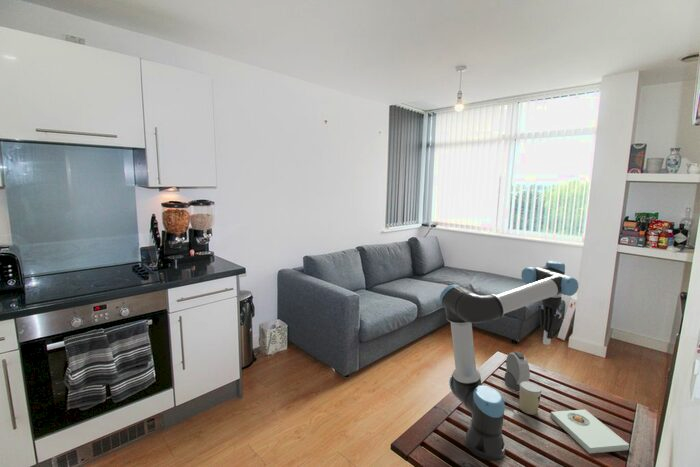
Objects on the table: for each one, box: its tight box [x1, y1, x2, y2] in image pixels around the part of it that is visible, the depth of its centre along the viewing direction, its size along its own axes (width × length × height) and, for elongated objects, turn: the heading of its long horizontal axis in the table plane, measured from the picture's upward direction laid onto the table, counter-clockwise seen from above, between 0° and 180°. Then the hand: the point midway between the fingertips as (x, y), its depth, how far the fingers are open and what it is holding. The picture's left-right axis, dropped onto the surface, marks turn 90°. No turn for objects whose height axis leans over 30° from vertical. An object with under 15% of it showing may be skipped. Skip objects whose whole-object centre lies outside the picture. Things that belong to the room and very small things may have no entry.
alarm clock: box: [503, 350, 531, 392], centre depth 181 cm, size 16×10×18 cm, turn 179°
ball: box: [573, 416, 583, 423], centre depth 152 cm, size 4×4×4 cm
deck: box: [550, 409, 630, 454], centre depth 147 cm, size 22×18×2 cm
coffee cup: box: [518, 380, 543, 415], centre depth 161 cm, size 9×9×12 cm
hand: (546, 343), depth 156 cm, fingers closed
